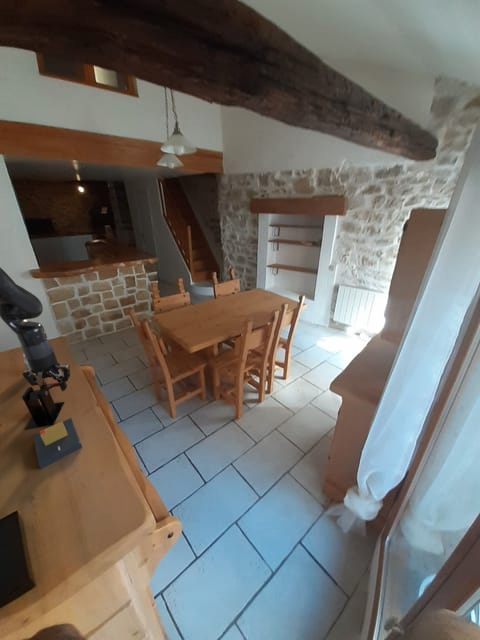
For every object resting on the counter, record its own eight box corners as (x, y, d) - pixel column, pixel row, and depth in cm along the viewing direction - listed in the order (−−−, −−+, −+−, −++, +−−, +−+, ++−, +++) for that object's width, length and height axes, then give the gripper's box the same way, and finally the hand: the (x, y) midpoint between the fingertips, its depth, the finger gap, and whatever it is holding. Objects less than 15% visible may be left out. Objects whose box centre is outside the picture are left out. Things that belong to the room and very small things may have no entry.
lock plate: (83, 449, 75) (80, 442, 73) (42, 471, 69) (38, 463, 67) (74, 424, 82) (71, 417, 81) (36, 441, 77) (32, 434, 75)
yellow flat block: (66, 431, 76) (61, 420, 74) (67, 435, 75) (62, 424, 73) (44, 442, 73) (39, 431, 71) (45, 446, 72) (39, 434, 70)
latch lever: (46, 389, 91) (45, 382, 91) (62, 386, 92) (61, 380, 92) (25, 401, 78) (24, 393, 78) (43, 398, 80) (42, 391, 79)
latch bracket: (39, 408, 88) (27, 382, 83) (65, 404, 90) (54, 378, 85) (26, 431, 80) (11, 404, 74) (54, 426, 81) (42, 399, 76)
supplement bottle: (46, 367, 108) (38, 348, 104) (44, 374, 104) (35, 355, 99) (31, 370, 106) (22, 351, 102) (28, 378, 102) (18, 358, 97)
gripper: (8, 362, 80) (28, 401, 87) (59, 355, 83) (74, 394, 91) (20, 349, 86) (37, 387, 94) (67, 343, 89) (80, 381, 97)
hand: (55, 390), depth 92 cm, fingers closed on latch lever, 5 cm apart
